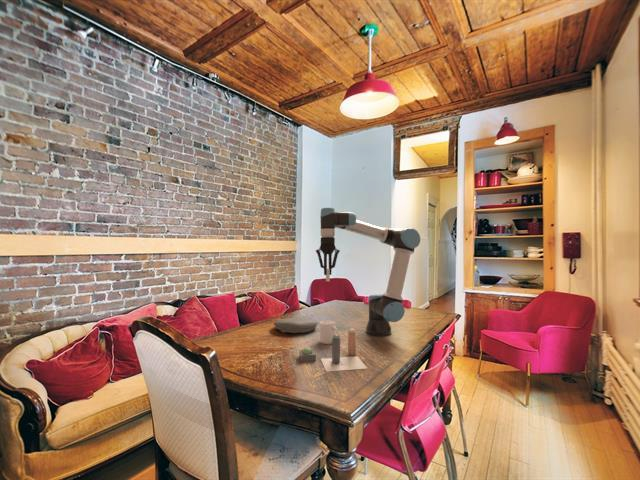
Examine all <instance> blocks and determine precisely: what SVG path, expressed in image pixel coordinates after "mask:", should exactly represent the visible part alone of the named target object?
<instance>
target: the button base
mask: <svg viewBox="0 0 640 480" xmlns="http://www.w3.org/2000/svg"><path fill="white" fill-rule="evenodd" d="M311 349H312V354H304V353H303V349H300V350H298V351H299V356H298V357H299V361H300V362H301V363H306V362H316V361H317V354H316V352H315V349H313V348H311Z"/></svg>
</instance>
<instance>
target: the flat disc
mask: <svg viewBox="0 0 640 480" xmlns="http://www.w3.org/2000/svg"><path fill="white" fill-rule="evenodd" d="M318 324H319V322H318V320H317V319H314V318H310V317H286V318H285V317H284V318H282V319H278V320H275V322H273V325H274V327H275V329H276V330H278V331H281V333H283V334H284V333H291V334H294V335H296V334H299V333H304V334H305V333H309V332H312V331H314V330H315V329H316V328H317V325H318Z"/></svg>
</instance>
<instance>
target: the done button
mask: <svg viewBox="0 0 640 480" xmlns="http://www.w3.org/2000/svg"><path fill="white" fill-rule="evenodd" d="M312 349H313V348H311V347H304V348H303V349H302V350H303V353H304V354H312Z"/></svg>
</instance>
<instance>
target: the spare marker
mask: <svg viewBox="0 0 640 480" xmlns="http://www.w3.org/2000/svg"><path fill="white" fill-rule="evenodd" d="M347 333H348V334H347V336H348V337H347V355H348V357H355V356H357V355H356V354H357V353H356V351H357V349H356V348H357V347H356V344H357V342H356V339H357V338H356V337H357V336H356V329H355V328H349V329H348V332H347Z"/></svg>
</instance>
